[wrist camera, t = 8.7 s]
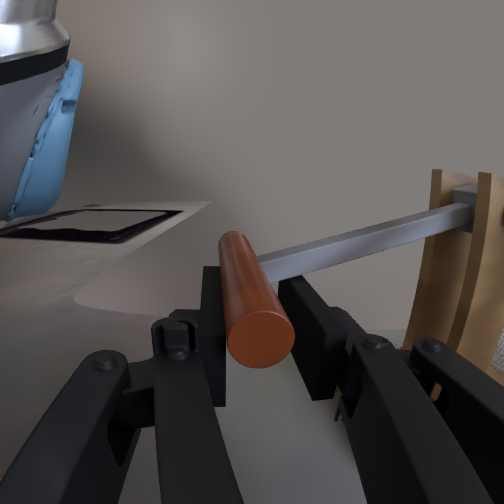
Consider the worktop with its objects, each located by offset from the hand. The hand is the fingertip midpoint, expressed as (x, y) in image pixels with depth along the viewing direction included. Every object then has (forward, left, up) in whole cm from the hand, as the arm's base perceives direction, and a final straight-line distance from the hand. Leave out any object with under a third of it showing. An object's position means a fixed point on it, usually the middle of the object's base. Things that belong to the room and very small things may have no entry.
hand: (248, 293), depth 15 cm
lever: (+6, +3, +2) cm, 7 cm away
